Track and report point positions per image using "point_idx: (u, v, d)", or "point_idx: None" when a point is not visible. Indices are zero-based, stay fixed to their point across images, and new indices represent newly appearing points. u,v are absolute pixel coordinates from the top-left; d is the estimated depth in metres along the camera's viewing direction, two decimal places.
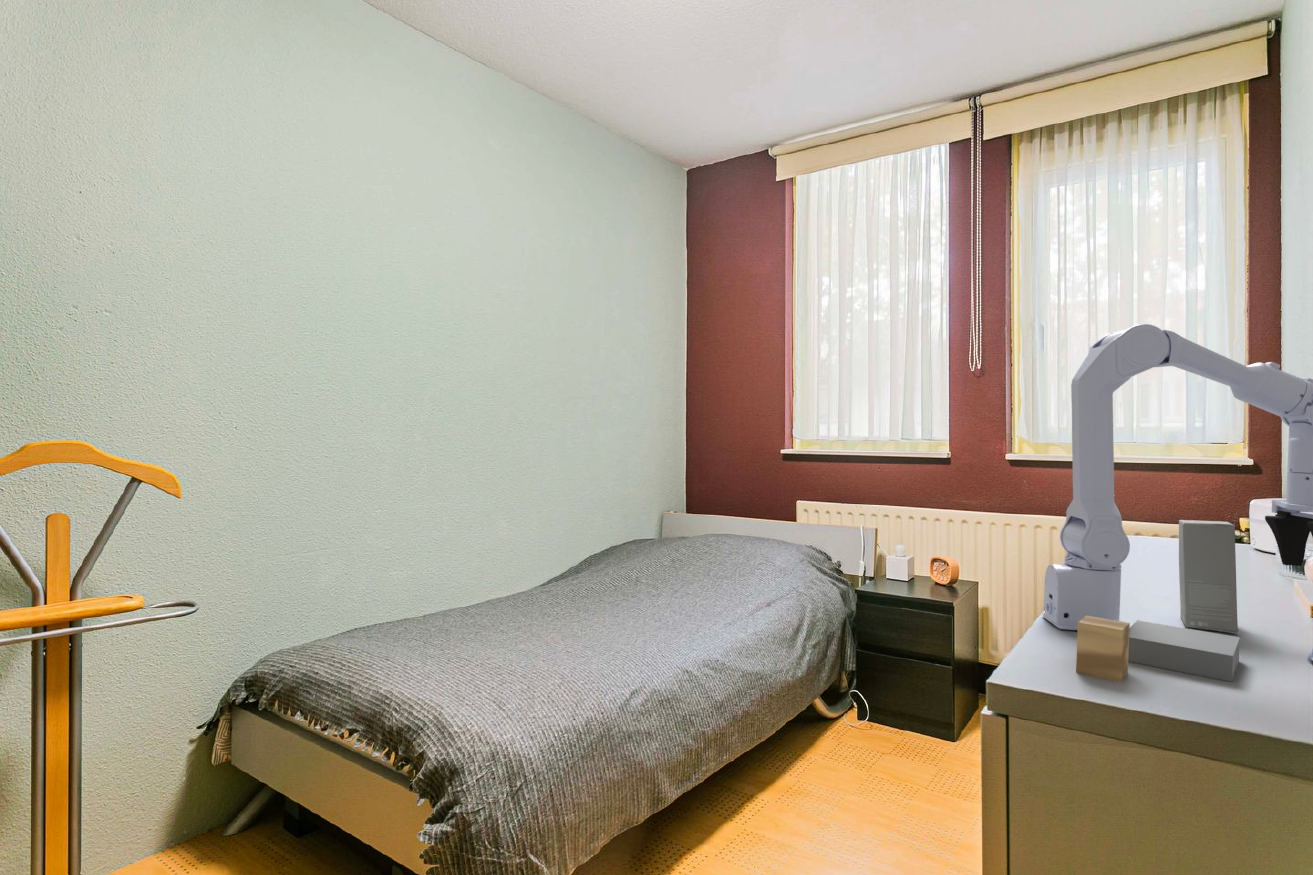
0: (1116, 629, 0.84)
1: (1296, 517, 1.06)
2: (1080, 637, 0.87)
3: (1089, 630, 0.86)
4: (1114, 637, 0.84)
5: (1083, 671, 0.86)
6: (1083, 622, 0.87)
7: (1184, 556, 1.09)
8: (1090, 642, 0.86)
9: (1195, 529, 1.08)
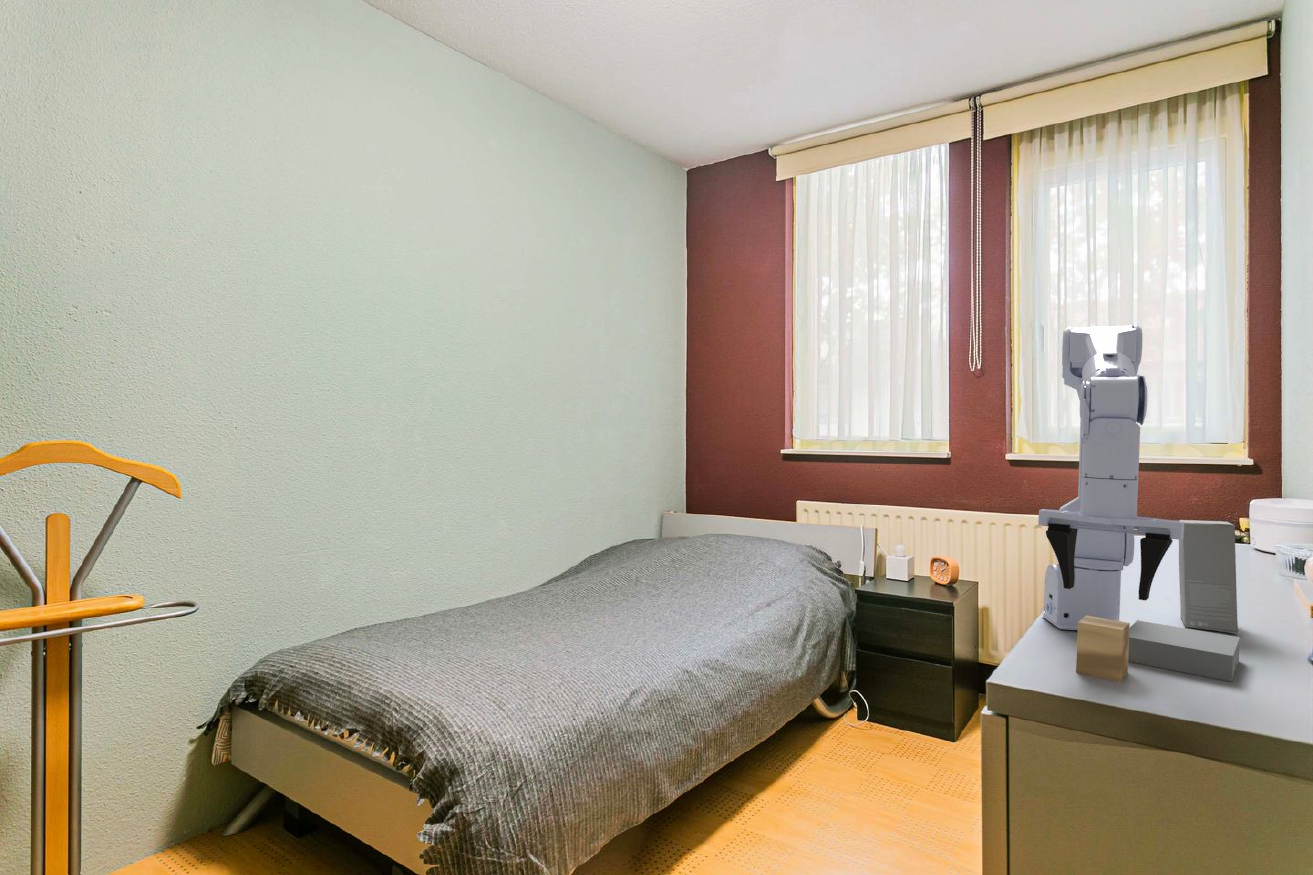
0: (1116, 629, 0.84)
1: (1144, 538, 0.84)
2: (1080, 637, 0.87)
3: (1089, 630, 0.86)
4: (1114, 637, 0.84)
5: (1083, 671, 0.86)
6: (1083, 622, 0.87)
7: (1184, 556, 1.09)
8: (1090, 642, 0.86)
9: (1195, 529, 1.08)
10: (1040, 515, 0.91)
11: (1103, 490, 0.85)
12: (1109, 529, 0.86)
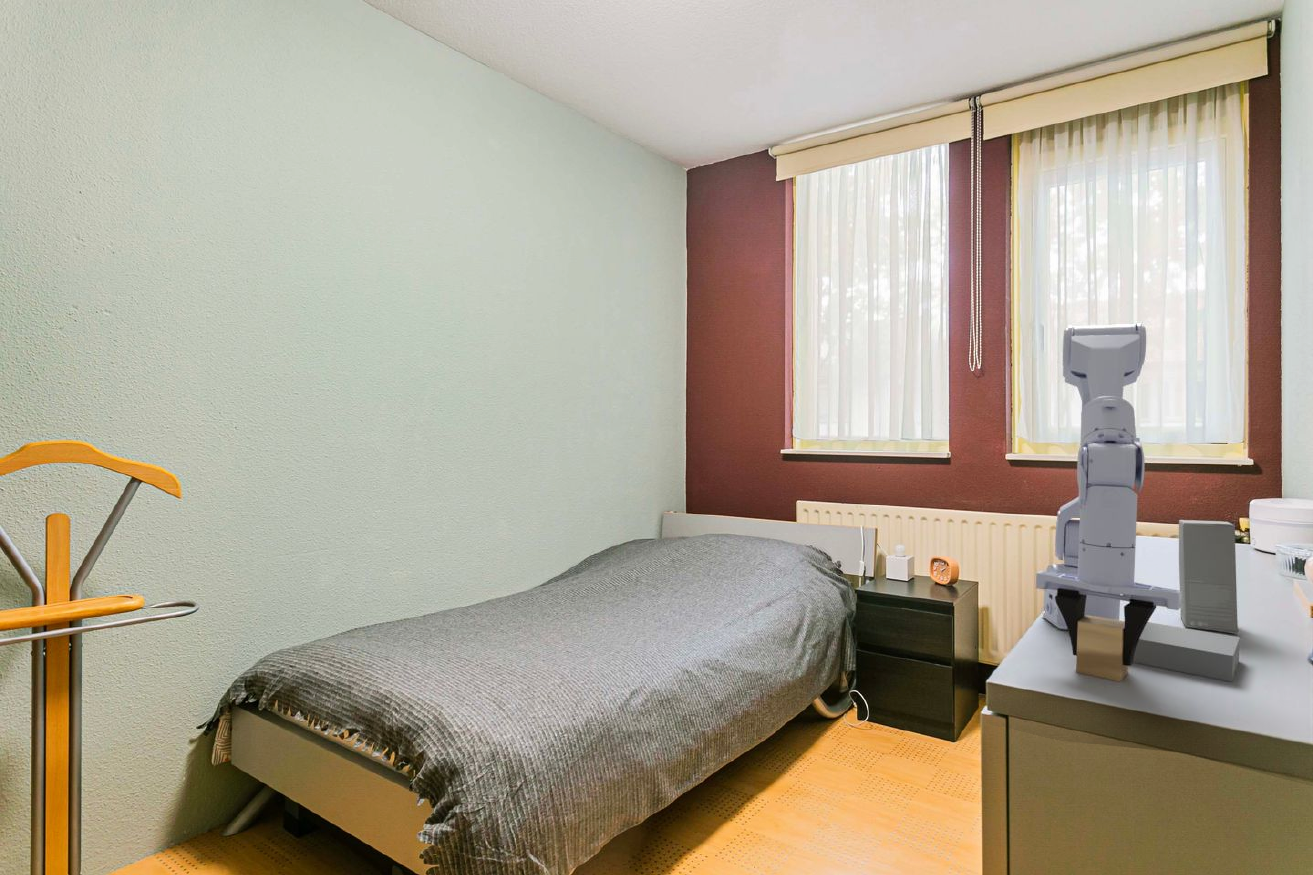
0: (1116, 628, 0.84)
1: (1128, 604, 0.85)
2: (1080, 636, 0.87)
3: (1089, 630, 0.86)
4: (1114, 636, 0.84)
5: (1083, 670, 0.86)
6: (1083, 621, 0.87)
7: (1184, 556, 1.09)
8: (1090, 642, 0.86)
9: (1195, 529, 1.08)
10: (1037, 578, 0.91)
11: (1100, 558, 0.85)
12: (1106, 595, 0.86)
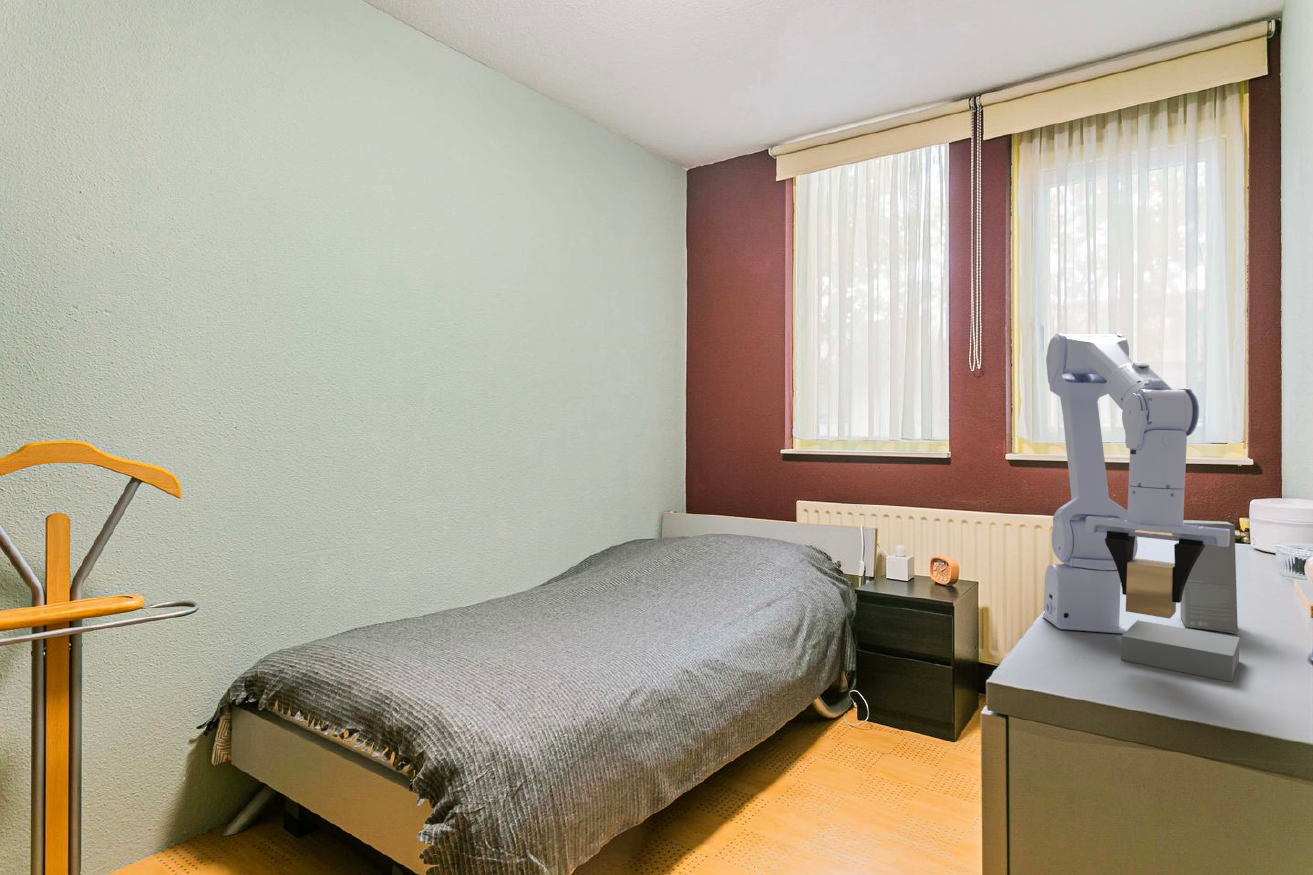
0: (1165, 568, 0.87)
1: (1178, 543, 0.88)
2: (1129, 577, 0.90)
3: (1138, 570, 0.89)
4: (1163, 575, 0.87)
5: (1132, 609, 0.90)
6: (1132, 563, 0.90)
7: None
8: (1140, 582, 0.89)
9: None
10: (1087, 522, 0.94)
11: (1150, 499, 0.88)
12: (1155, 536, 0.90)
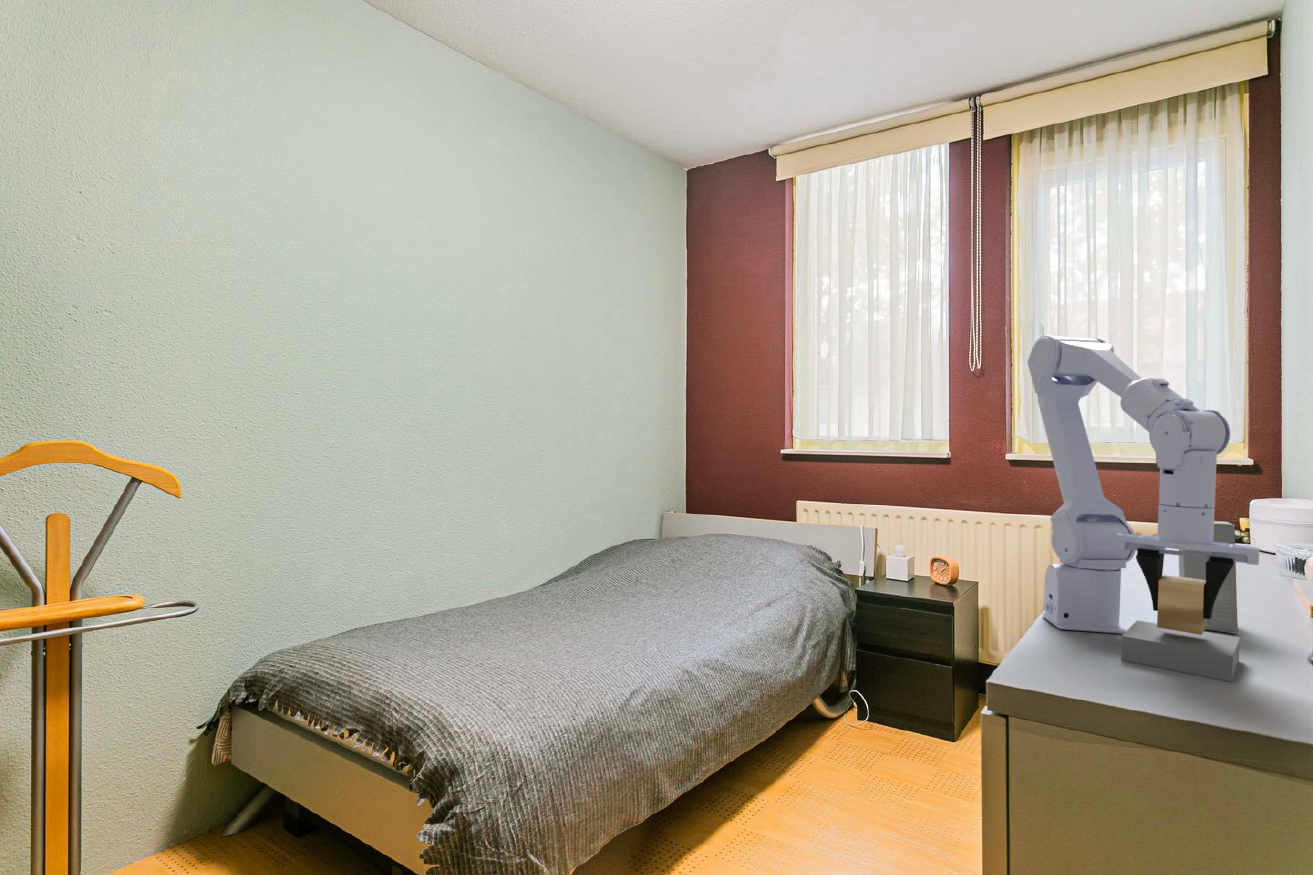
0: (1197, 585, 0.90)
1: (1208, 561, 0.91)
2: (1161, 594, 0.92)
3: (1170, 587, 0.91)
4: (1195, 593, 0.90)
5: (1164, 626, 0.92)
6: (1164, 580, 0.92)
7: (1184, 556, 1.09)
8: (1171, 599, 0.91)
9: None
10: (1118, 539, 0.96)
11: (1181, 518, 0.90)
12: (1186, 554, 0.92)
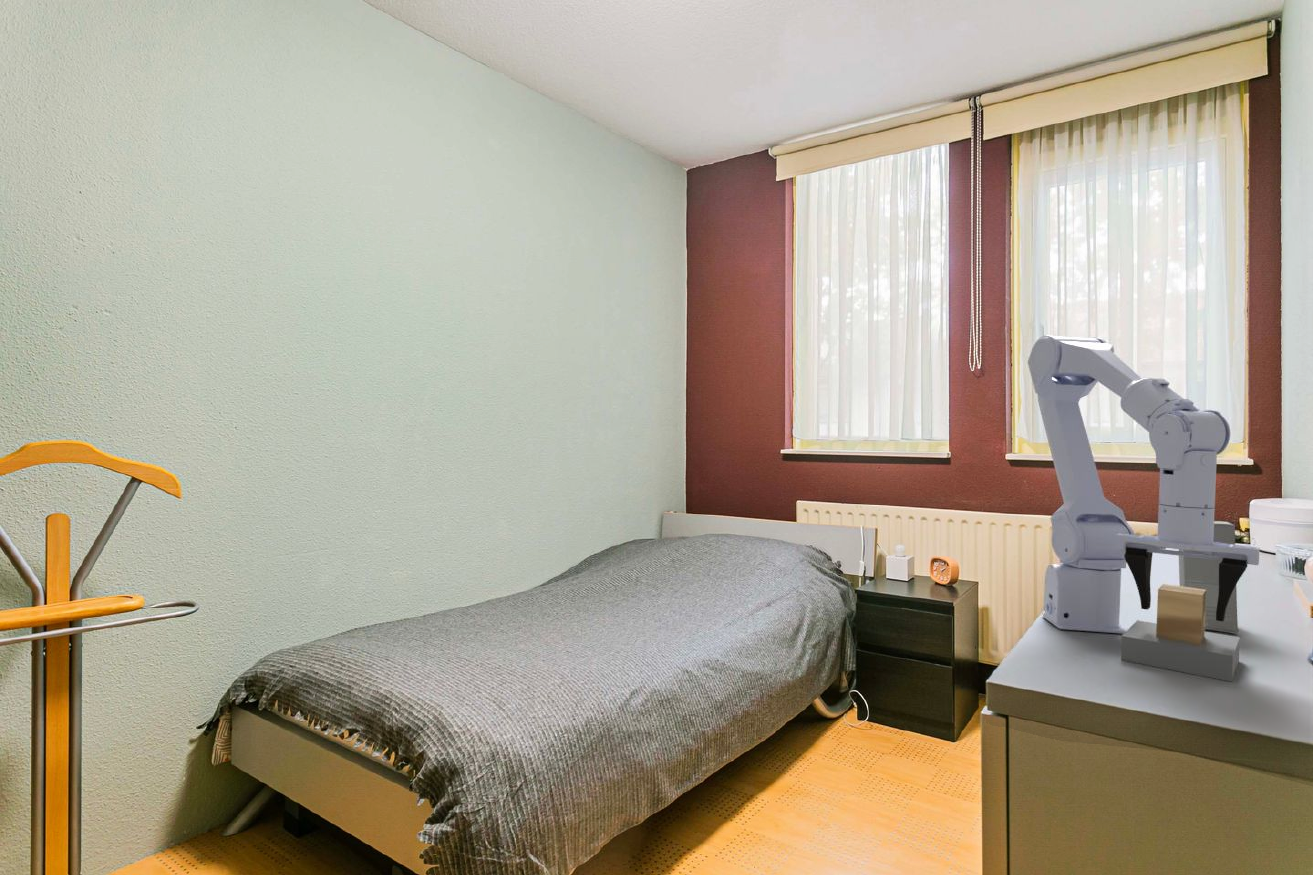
0: (1196, 594, 0.90)
1: (1221, 563, 0.90)
2: (1160, 603, 0.92)
3: (1169, 596, 0.91)
4: (1194, 602, 0.90)
5: (1163, 635, 0.92)
6: (1163, 589, 0.92)
7: (1184, 556, 1.09)
8: (1170, 608, 0.91)
9: None
10: (1118, 539, 0.96)
11: (1181, 518, 0.90)
12: (1186, 554, 0.92)
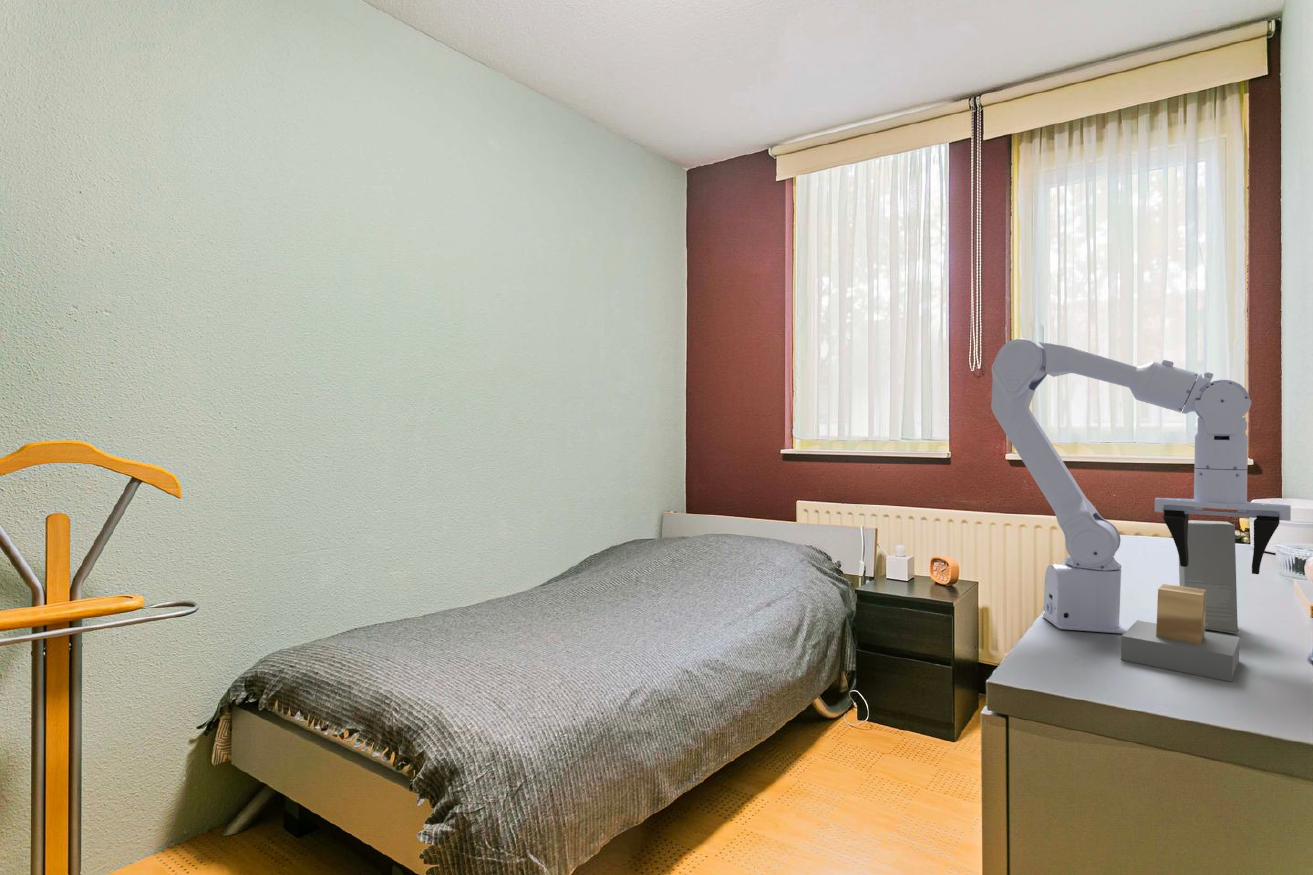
0: (1196, 594, 0.90)
1: None
2: (1160, 603, 0.92)
3: (1169, 596, 0.91)
4: (1194, 602, 0.90)
5: (1163, 635, 0.92)
6: (1163, 589, 0.92)
7: None
8: (1170, 608, 0.91)
9: (1195, 529, 1.08)
10: (1156, 503, 1.03)
11: (1217, 479, 0.97)
12: (1221, 513, 0.99)
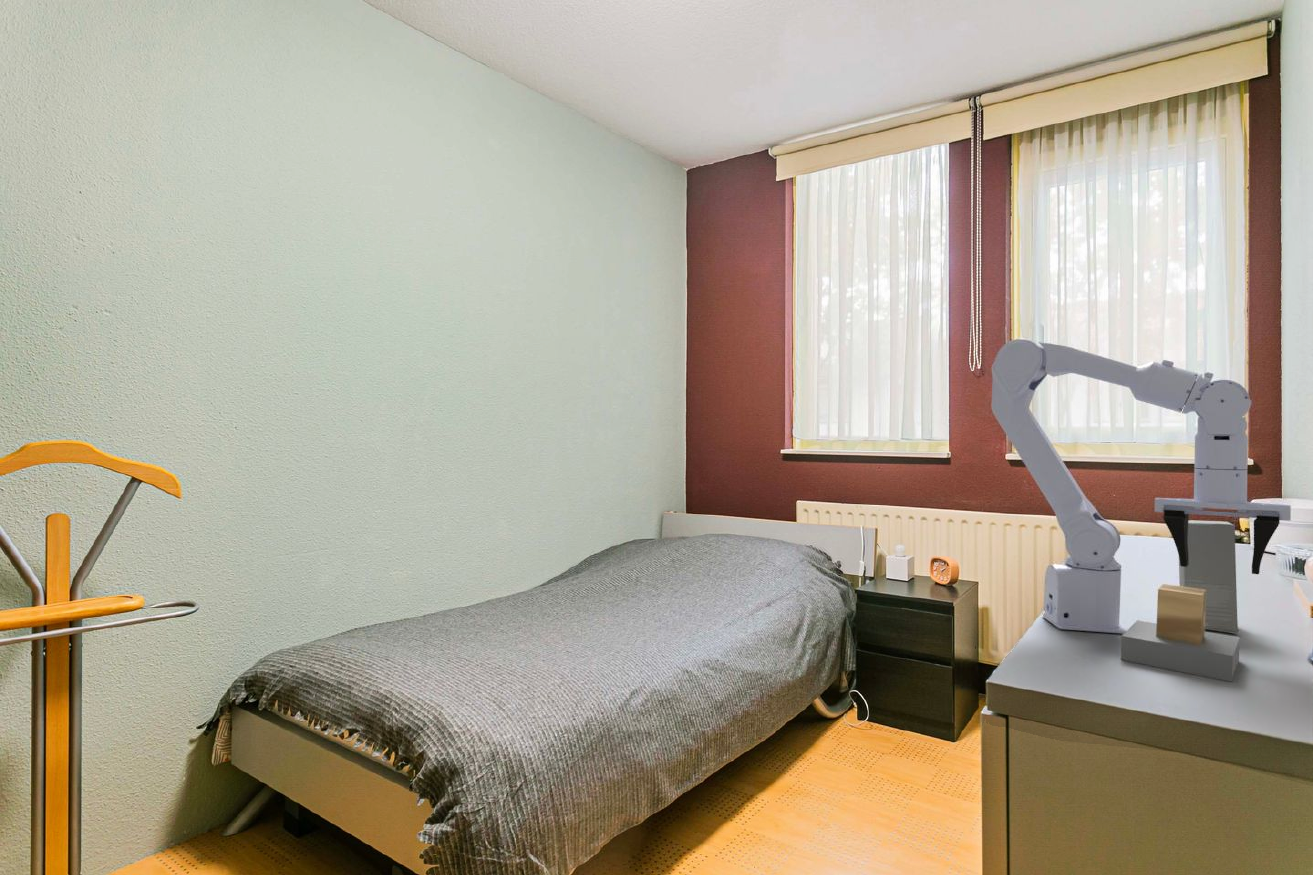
0: (1196, 594, 0.90)
1: None
2: (1160, 603, 0.92)
3: (1169, 596, 0.91)
4: (1194, 602, 0.90)
5: (1163, 635, 0.92)
6: (1163, 589, 0.92)
7: None
8: (1170, 608, 0.91)
9: (1195, 529, 1.08)
10: (1156, 503, 1.03)
11: (1217, 479, 0.97)
12: (1221, 513, 0.99)
